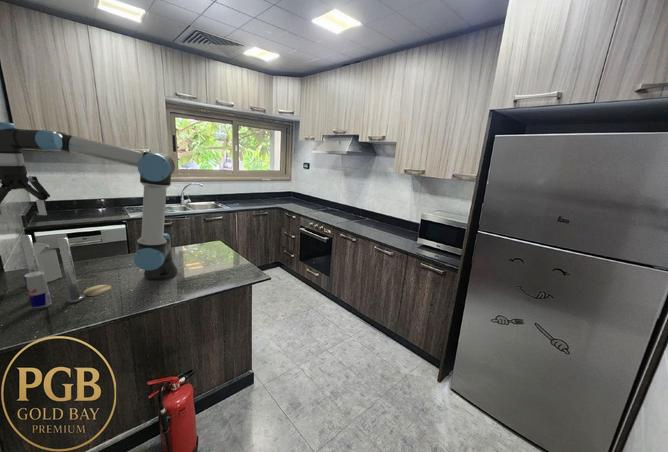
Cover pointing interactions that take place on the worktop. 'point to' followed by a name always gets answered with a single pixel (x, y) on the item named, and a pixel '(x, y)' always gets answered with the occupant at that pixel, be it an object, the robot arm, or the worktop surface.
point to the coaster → (97, 290)
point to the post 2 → (69, 271)
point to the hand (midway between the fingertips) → (24, 218)
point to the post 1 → (30, 253)
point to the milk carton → (47, 261)
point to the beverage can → (37, 290)
